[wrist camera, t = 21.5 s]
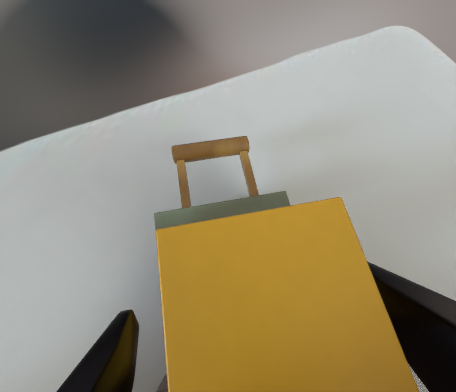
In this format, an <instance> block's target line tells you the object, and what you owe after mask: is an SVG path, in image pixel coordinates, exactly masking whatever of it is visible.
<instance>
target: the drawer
mask: <svg viewBox="0 0 456 392" xmlns="http://www.w3.org/2000/svg"><path fill="white" fill-rule="evenodd" d="M248 152H249V141H248V138H247V136H241V137H233V138H226V139H219V140H212V141H204V142H197V143H190V144H183V145H175V146H172V155H173V160H174V162H175V164H177V170H178V178H179V186H180V194H181V202H182V209H176V210H171V211H165V212H159V213H154V217H155V230H158V229H162V228H168V227H173V226H179V225H185V224H190V223H196V222H202V221H207V220H213V219H218V218H224V217H230V216H235V215H241V214H247V213H252V212H258V211H264V210H269V209H275V208H281V207H286V206H290V204H289V200H288V197H287V194H286V191H283V192H277V193H271V194H265V195H259V194H258V190H257V186H256V183H255V179H254V175H253V171H252V167H251V163H250V159H249V156H248ZM239 154H240V160H241V164H242V168H243V172H244V176H245V180H246V184H247V188H248V192H249V196H250V197H247V198H241V199H235V200H230V201H224V202H218V203H212V204H206V205H200V206H194V207H191V201H190V194H189V187H188V180H187V173H186V166H185V162H192V161H198V160H205V159H212V158H219V157H226V156H232V155H239Z"/></svg>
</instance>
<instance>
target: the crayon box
mask: <svg viewBox="0 0 456 392" xmlns="http://www.w3.org/2000/svg"><path fill="white" fill-rule="evenodd" d="M156 239H157V252H158V265H159V278H160V290H161V303H162V316H163V329H164V341H165V354H166V367H167V380H168V392H419V390H418V388H417V385H416V383H415V380H414V378H413V375H412V373H411V370H410V368H409V365H408V363H407V360H406V358H405V355H404V353H403V350H402V348H401V345H400V343H399V340H398V338H397V335H396V333H395V330H394V328H393V325H392V323H391V320H390V318H389V315H388V313H387V310H386V308H385V305H384V303H383V300H382V298H381V295H380V293H379V290H378V288H377V285H376V283H375V280H374V278H373V275H372V273H371V270H370V268H369V265H368V263H367V260H366V258H365V255H364V253H363V250H362V248H361V245H360V243H359V240H358V238H357V235H356V233H355V230H354V228H353V225H352V223H351V220H350V218H349V215H348V213H347V210H346V208H345V205H344V203H343V200H342V198H341V197H337V198H332V199H326V200H320V201H315V202H309V203H303V204H298V205H292V206H286V207H281V208H275V209H269V210H264V211H258V212H252V213H247V214H241V215H235V216H230V217H224V218H218V219H213V220H207V221H202V222H196V223H190V224H185V225H179V226H173V227H168V228H162V229H158V230H156Z"/></svg>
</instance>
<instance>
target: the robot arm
mask: <svg viewBox="0 0 456 392" xmlns="http://www.w3.org/2000/svg"><path fill="white" fill-rule="evenodd" d="M367 263H368V265H369V268H370V270H371V273H372V275H373V278H374V280H375V283H376V285H377V288H378V290H379V293H380V295H381V298H382V300H383V303H384V305H385V308H386V310H387V313H388V315H389V318H390V320H391V323H392V325H393V328H394V330H395V333H396V335H397V338H398V340H399V343H400V345H401V348H402V350H403V353H404V355H405V358H406V360H407V363H408V364H409V365H410V367H411V368H412V369H413V371H414V372H415V373H416V375H417V376H418V377H419V379H420V380H421V381H422V383H423V384H424V385H425V387H426V388H427V389H428V391H429V392H456V301H454V300H452V299H450V298H448V297H445V296H443V295H441V294H439V293H436V292H434V291H432V290H430V289H427V288H425V287H423V286H421V285H419V284H416V283H414V282H412V281H410V280H407V279H405V278H403V277H401V276H398V275H396V274H394V273H392V272H389V271H387V270H385V269H383V268H380V267H378V266H376V265H374V264H372V263H369V262H367ZM138 335H139V324H138V321H137V319H136V316H135V314H134V312H133V310H125V311H121V312H120V313H119V314H118V315H117V316H116V317H115V319H114V320H113V321H112V322H111V324H110V325H109V326H108V327H107V329H106V330H105V331H104V333H103V334H102V335H101V336H100V338H99V339H98V340H97V341H96V343H95V344H94V345H93V346H92V348H91V349H90V350H89V351H88V353H87V354H86V355H85V356H84V358H83V359H82V360H81V361H80V363H79V364H78V365H77V366H76V368H75V369H74V370H73V372H72V373H71V374H70V375H69V377H68V378H67V379H66V380H65V382H64V383H63V384H62V385H61V387H60V388H59V389H58V390H57V392H132V388H133V383H134V376H135V368H136V357H137V346H138Z"/></svg>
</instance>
